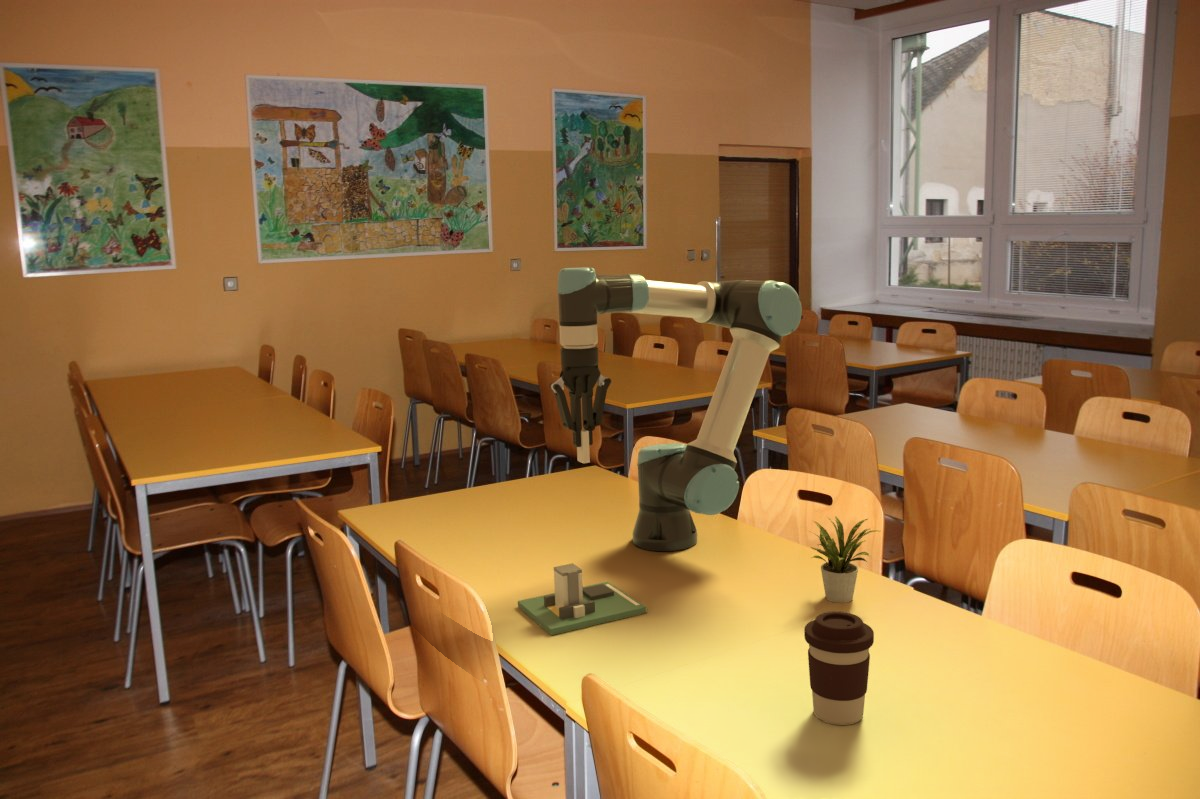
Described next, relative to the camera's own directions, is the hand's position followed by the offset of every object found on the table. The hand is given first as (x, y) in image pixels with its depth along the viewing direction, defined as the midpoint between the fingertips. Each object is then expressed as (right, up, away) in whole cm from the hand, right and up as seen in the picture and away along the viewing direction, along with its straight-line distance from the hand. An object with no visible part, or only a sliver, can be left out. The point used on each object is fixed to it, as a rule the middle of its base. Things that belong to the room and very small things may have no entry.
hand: (583, 461), depth 197 cm
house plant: (+52, -26, -7) cm, 58 cm away
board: (0, -28, -8) cm, 29 cm away
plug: (-3, -27, -11) cm, 30 cm away
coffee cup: (+39, -35, -52) cm, 73 cm away
